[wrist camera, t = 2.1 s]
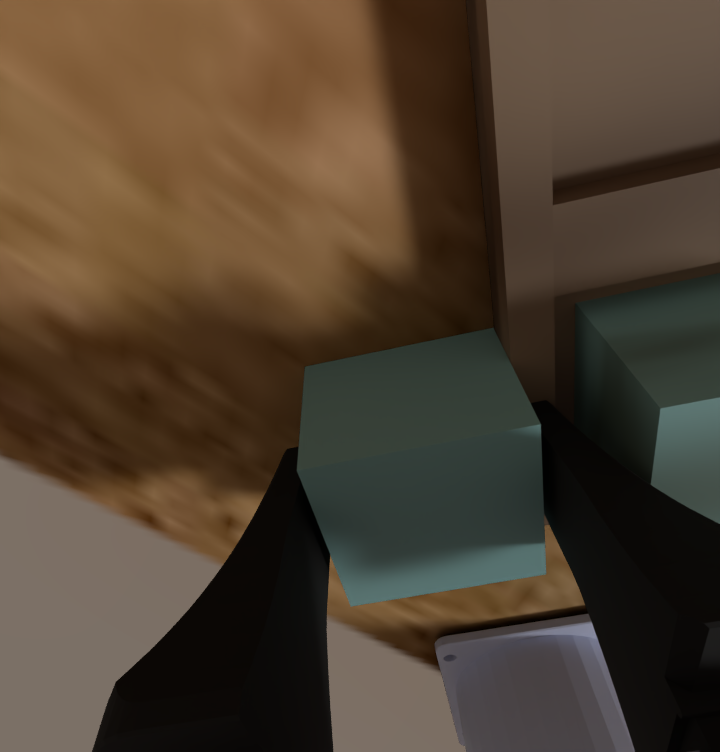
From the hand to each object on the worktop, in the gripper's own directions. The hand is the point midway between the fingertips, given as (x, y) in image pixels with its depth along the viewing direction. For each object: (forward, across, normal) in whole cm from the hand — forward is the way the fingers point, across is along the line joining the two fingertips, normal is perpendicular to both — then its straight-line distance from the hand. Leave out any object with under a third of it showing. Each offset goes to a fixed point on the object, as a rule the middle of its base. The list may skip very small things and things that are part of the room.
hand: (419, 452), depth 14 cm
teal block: (+2, 0, 0) cm, 2 cm away
